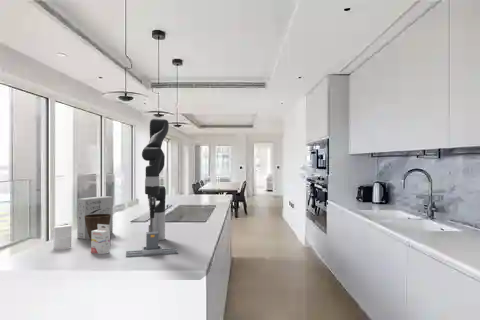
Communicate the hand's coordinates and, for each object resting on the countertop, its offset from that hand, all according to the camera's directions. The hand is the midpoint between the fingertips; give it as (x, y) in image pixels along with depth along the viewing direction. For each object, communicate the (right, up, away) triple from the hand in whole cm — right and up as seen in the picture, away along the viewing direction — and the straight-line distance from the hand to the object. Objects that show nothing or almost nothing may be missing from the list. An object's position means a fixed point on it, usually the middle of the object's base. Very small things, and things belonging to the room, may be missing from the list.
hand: (152, 217), depth 186 cm
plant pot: (-40, -19, +27) cm, 52 cm away
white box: (-54, -19, +12) cm, 58 cm away
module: (0, -18, 0) cm, 18 cm away
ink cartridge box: (-28, -19, +1) cm, 34 cm away
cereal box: (-49, -19, +45) cm, 69 cm away
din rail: (0, -19, 0) cm, 19 cm away
